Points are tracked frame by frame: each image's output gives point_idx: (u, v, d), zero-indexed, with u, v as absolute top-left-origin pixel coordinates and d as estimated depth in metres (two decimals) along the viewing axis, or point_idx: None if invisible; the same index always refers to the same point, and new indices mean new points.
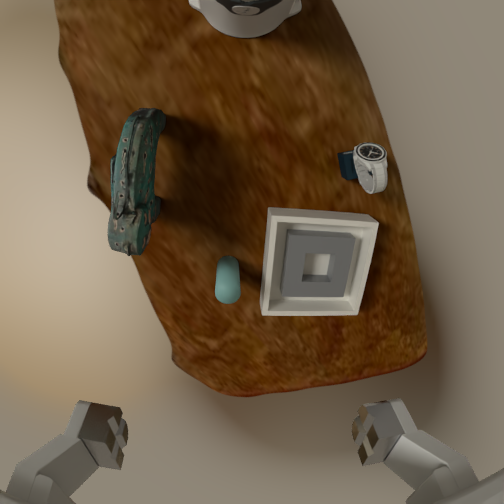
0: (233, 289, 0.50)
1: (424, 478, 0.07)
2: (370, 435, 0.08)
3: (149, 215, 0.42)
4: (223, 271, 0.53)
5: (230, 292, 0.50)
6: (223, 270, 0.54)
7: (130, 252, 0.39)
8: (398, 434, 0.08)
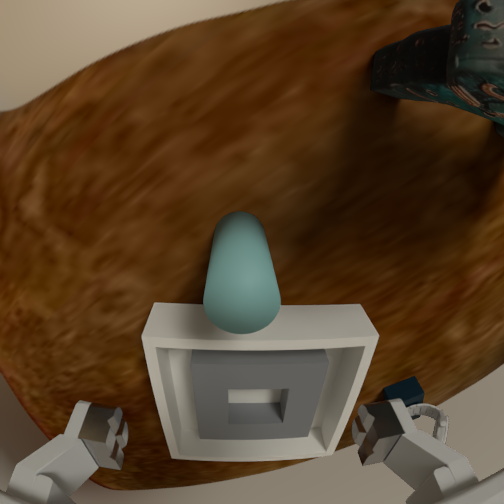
0: (255, 318, 0.17)
1: (424, 478, 0.07)
2: (369, 435, 0.08)
3: None
4: (271, 260, 0.20)
5: (243, 310, 0.17)
6: (269, 254, 0.20)
7: None
8: (398, 434, 0.08)
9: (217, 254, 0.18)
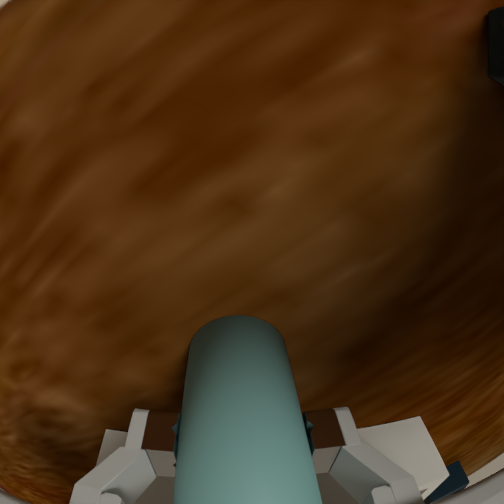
0: None
1: (368, 494, 0.07)
2: (309, 444, 0.08)
3: None
4: (315, 477, 0.07)
5: None
6: (310, 456, 0.07)
7: None
8: (338, 446, 0.08)
9: (189, 496, 0.06)
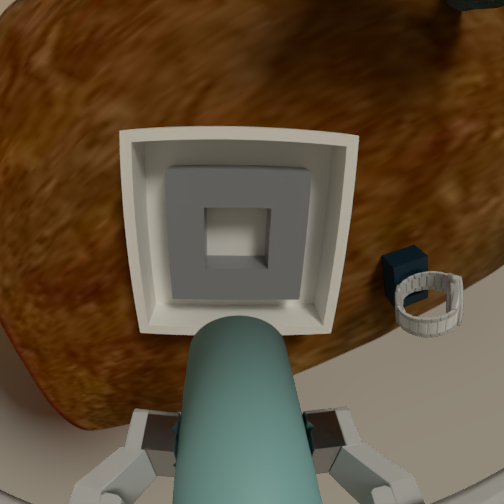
0: None
1: (368, 494, 0.07)
2: (309, 444, 0.08)
3: None
4: (315, 477, 0.07)
5: None
6: (310, 456, 0.07)
7: None
8: (338, 446, 0.08)
9: (189, 495, 0.06)
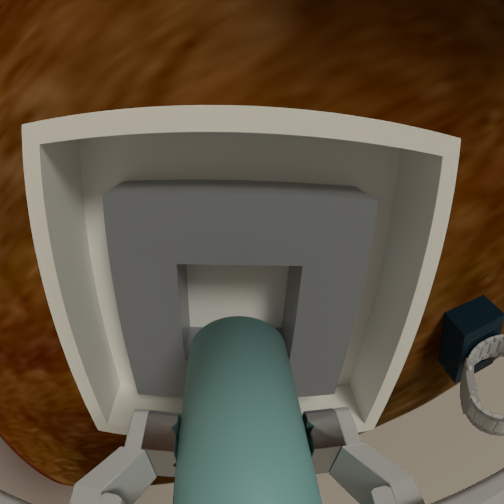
0: None
1: (368, 494, 0.07)
2: (309, 444, 0.08)
3: None
4: (315, 478, 0.07)
5: None
6: (310, 457, 0.07)
7: None
8: (338, 446, 0.08)
9: (189, 496, 0.06)
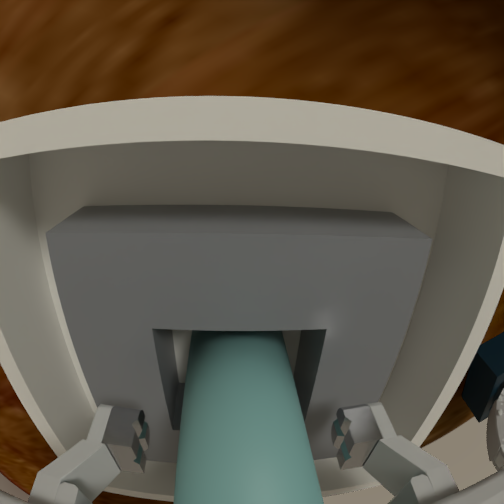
0: None
1: (403, 485, 0.07)
2: (346, 439, 0.08)
3: None
4: (310, 450, 0.08)
5: None
6: (305, 431, 0.08)
7: None
8: (375, 439, 0.08)
9: (191, 464, 0.07)
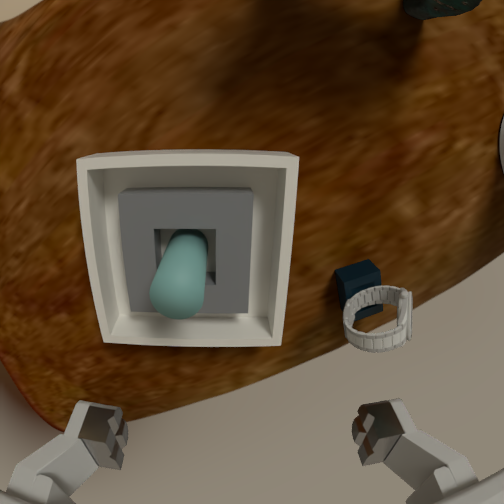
0: (187, 307, 0.23)
1: (424, 478, 0.07)
2: (369, 435, 0.08)
3: None
4: (203, 265, 0.26)
5: (178, 301, 0.23)
6: (203, 261, 0.26)
7: None
8: (398, 434, 0.08)
9: (162, 261, 0.25)
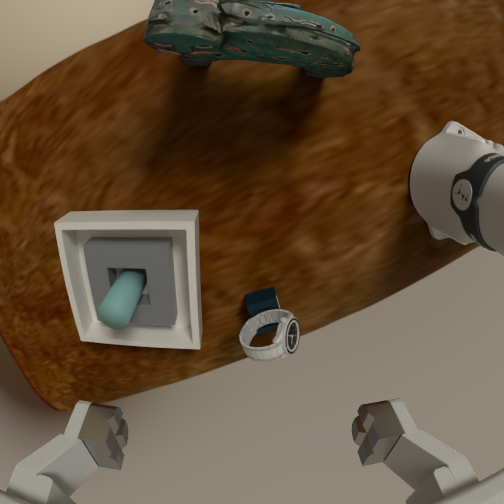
0: (120, 322, 0.35)
1: (424, 478, 0.07)
2: (369, 435, 0.08)
3: (204, 52, 0.23)
4: (134, 294, 0.38)
5: (114, 318, 0.34)
6: (135, 291, 0.38)
7: (152, 23, 0.18)
8: (398, 434, 0.08)
9: (108, 292, 0.36)
